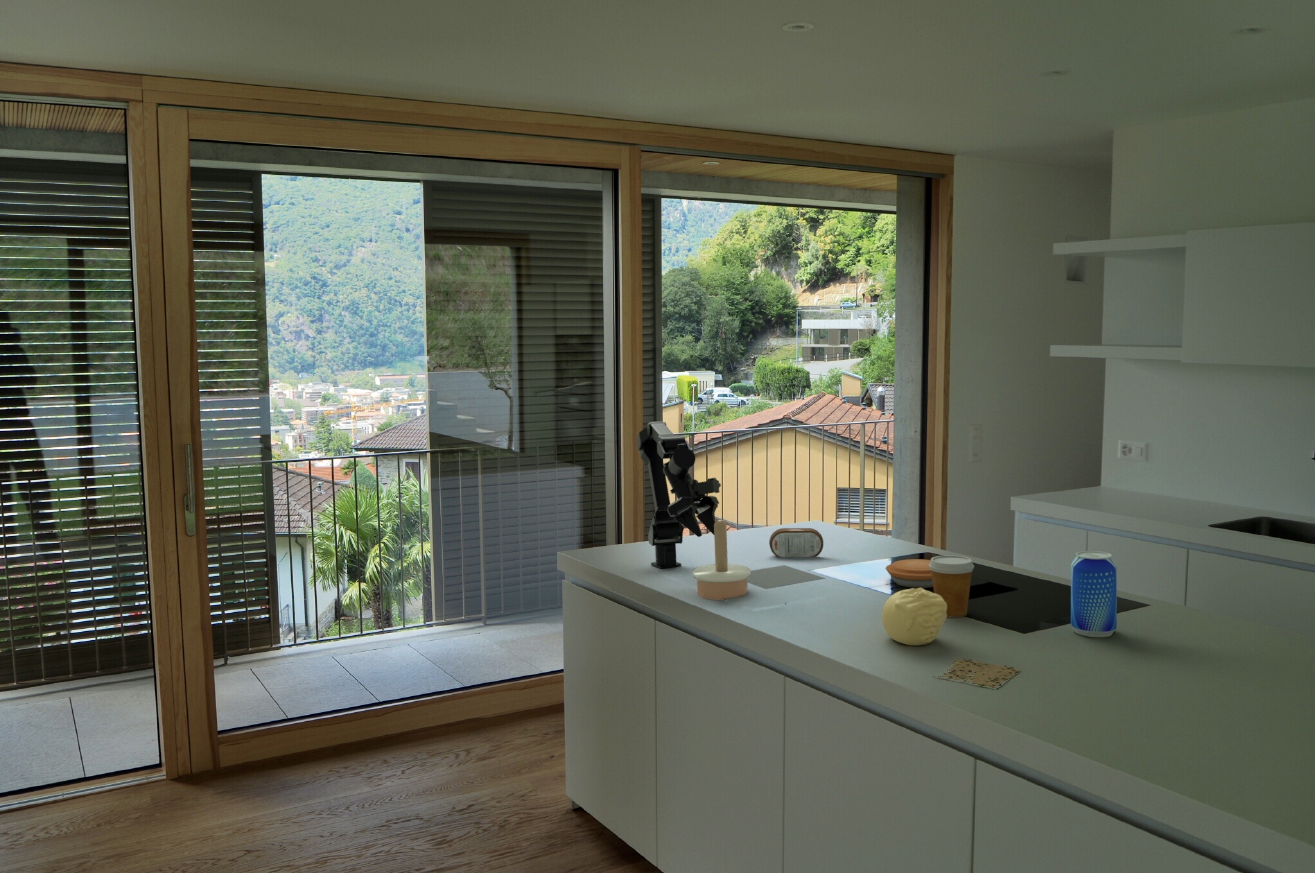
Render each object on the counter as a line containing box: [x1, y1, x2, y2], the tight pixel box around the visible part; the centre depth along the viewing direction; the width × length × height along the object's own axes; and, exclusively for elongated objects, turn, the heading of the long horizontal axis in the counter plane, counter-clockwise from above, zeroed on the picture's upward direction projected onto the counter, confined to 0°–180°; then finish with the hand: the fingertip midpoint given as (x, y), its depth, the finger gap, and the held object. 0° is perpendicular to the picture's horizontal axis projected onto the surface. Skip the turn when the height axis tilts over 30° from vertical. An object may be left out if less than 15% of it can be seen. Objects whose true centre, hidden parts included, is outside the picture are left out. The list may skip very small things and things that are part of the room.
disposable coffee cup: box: [929, 554, 975, 618], centre depth 215 cm, size 10×10×12 cm
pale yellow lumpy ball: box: [881, 587, 948, 646], centre depth 197 cm, size 12×12×11 cm
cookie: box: [938, 658, 1021, 688], centre depth 177 cm, size 12×12×1 cm
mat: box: [747, 564, 826, 590], centre depth 253 cm, size 18×18×1 cm
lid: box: [692, 519, 752, 582], centre depth 239 cm, size 14×14×14 cm
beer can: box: [1070, 550, 1118, 638], centre depth 198 cm, size 8×8×16 cm
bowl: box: [696, 579, 749, 601], centre depth 240 cm, size 12×12×4 cm
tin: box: [768, 527, 824, 558], centre depth 275 cm, size 15×3×8 cm, turn 84°
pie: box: [885, 558, 933, 589], centre depth 244 cm, size 15×16×5 cm
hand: (708, 535), depth 249 cm, fingers open, 9 cm apart
